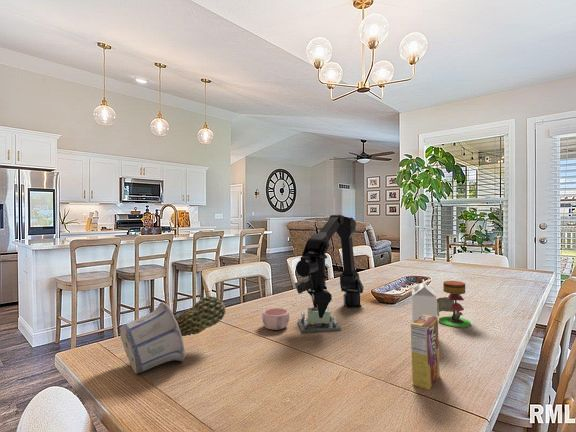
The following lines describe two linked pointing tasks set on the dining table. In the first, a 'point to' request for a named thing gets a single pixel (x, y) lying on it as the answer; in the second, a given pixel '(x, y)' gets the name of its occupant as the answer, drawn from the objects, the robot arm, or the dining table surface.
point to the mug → (275, 318)
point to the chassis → (318, 324)
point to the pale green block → (314, 316)
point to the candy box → (425, 351)
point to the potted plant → (167, 332)
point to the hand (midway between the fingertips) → (318, 313)
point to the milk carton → (423, 301)
